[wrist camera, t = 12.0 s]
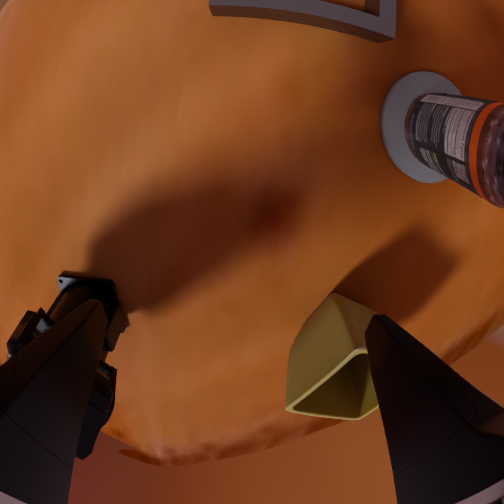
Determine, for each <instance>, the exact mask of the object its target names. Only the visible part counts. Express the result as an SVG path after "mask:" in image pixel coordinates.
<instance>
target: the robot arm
mask: <svg viewBox="0 0 504 504" xmlns="http://www.w3.org/2000/svg"><path fill="white" fill-rule="evenodd" d="M57 282H58V285H59V288H60V291H61V292H60V294H59V295H58V297H57V298H56V300H55V301H54V303H53V304H52V306H51V307H50V309H49V310H48V312H47V313H45V311H44V310H43V309H42V308H41V307H40V309H39V310H38V311H37V312H35V311H34V312H33V311H29V310H28V311H27V312H26V314H25V315H24V317H23V318H22V320H21V321H20V323H19V324H18V326H17V327H16V329H15V330H14V332H13V334H12V335H11V337H10V339H9V340H8V342H7V349H8V355H7V358H8V359H7V361H6V362H5V363H4V364H3V365H1V366H0V504H68V498H69V490H70V483H71V477H72V470H73V465H74V458H75V457H77V458H79V459H81V460H83V459H85V458H86V457H87V456H88V455H90V454H91V453H92V450H93V447H94V444H95V441H96V438H97V435H98V433H99V431H100V429H101V428H102V427H103V426H104V425H105V424H106V423H107V421H108V420H109V418H110V416H111V414H112V411H113V408H114V403H115V388H116V375H117V369H115V368H114V367H113V366H110V365H108V364H107V363H105V359H106V357H107V354H108V351H109V352H112V351H113V350H114V348H115V345H116V343H117V340H118V337H119V335H120V333H123V332H124V331H125V324H124V322H125V320H124V316H123V312H122V308H121V304H120V302H119V301H118V298H117V294H116V290H115V285H114V283H113V282H112V281H111V280H106V279H96V278H87V277H77V276H68V275H59V276H58V278H57ZM108 285H109V286H108ZM365 342H366V347H367V353H368V359H369V366H370V371H371V376H372V381H373V384H374V388H375V392H376V396H377V400H378V404H379V408H380V413H381V417H382V421H383V426H384V430H385V435H386V439H387V444H388V449H389V454H390V459H391V465H392V471H393V475H394V477H393V478H394V484H395V490H396V497H397V503H398V504H504V408H503V407H501V406H500V405H499V404H497V403H496V402H494V401H493V400H492V399H490V398H489V397H487V396H486V395H485V394H483V393H482V392H481V391H479V390H478V389H477V388H475V387H474V386H472V385H471V384H470V383H469V382H468V381H466V380H465V379H464V378H463V377H461V376H460V375H459V374H458V373H457V372H455V371H454V370H453V369H452V368H451V367H450V366H448V365H447V364H446V363H445V362H444V361H442V360H441V359H440V358H439V357H437V356H436V355H435V354H434V353H433V352H431V351H430V350H429V349H428V348H427V347H425V346H424V345H423V344H422V343H420V342H419V341H418V340H417V339H415V338H414V337H413V336H412V335H410V334H409V333H408V332H407V331H406V330H404V329H403V328H402V327H400V326H399V325H398V324H397V323H395V322H394V321H393V320H392V319H390V318H389V317H388V316H387V315H385V314H374V315H373V316H372V318H371V320H370V322H369V324H368V326H367V329H366V331H365Z"/></svg>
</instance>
